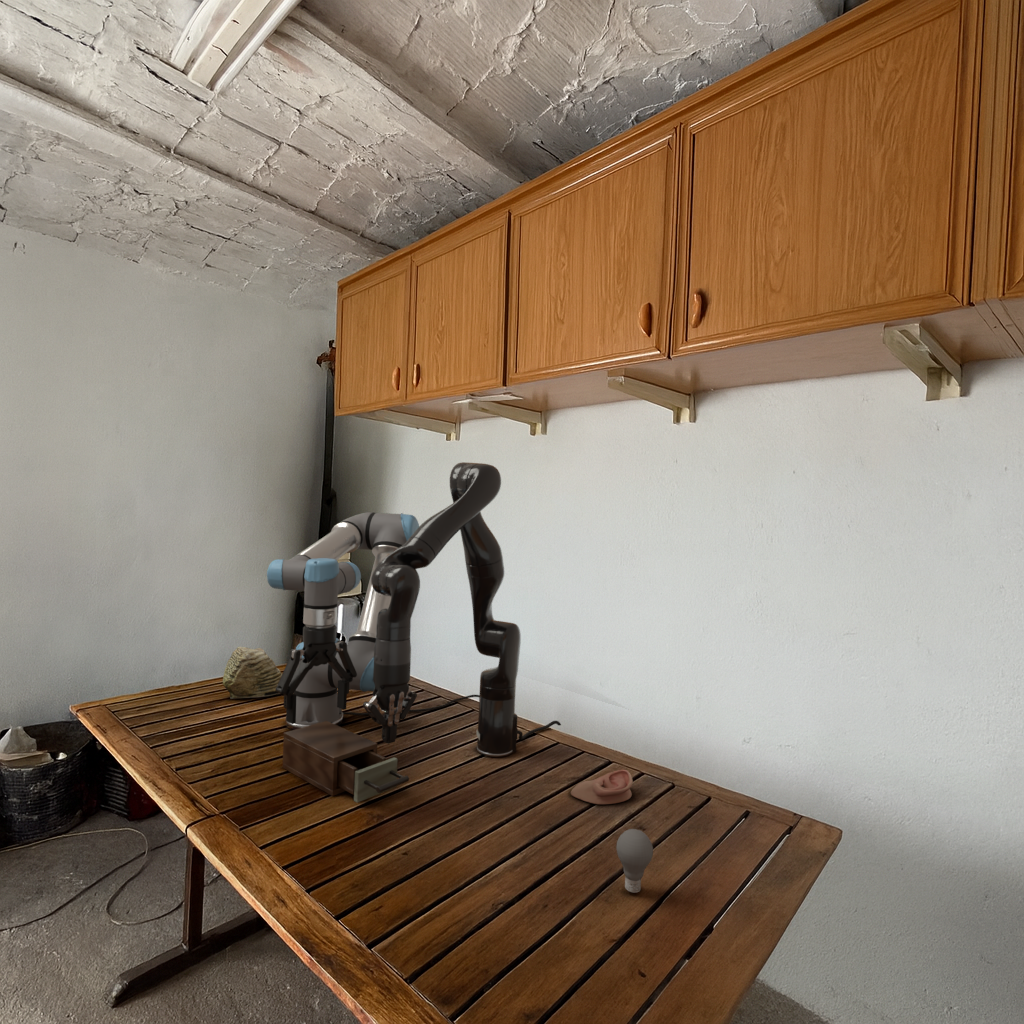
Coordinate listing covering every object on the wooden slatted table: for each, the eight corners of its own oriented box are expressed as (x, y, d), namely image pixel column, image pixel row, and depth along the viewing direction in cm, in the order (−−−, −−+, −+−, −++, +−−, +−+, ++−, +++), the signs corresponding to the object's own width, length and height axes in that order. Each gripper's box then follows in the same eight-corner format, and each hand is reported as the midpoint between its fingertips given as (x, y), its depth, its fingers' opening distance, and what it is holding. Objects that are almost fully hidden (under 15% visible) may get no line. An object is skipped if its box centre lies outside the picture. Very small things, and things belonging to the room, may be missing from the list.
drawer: (413, 795, 134) (414, 766, 134) (373, 812, 126) (375, 781, 126) (345, 761, 149) (346, 735, 149) (306, 774, 142) (307, 747, 141)
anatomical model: (569, 782, 136) (575, 761, 148) (568, 800, 136) (574, 778, 148) (632, 790, 134) (633, 768, 145) (631, 809, 134) (632, 785, 145)
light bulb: (610, 879, 108) (613, 822, 108) (644, 879, 109) (647, 822, 109) (619, 902, 102) (622, 840, 102) (655, 901, 103) (658, 840, 103)
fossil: (218, 695, 195) (220, 647, 195) (278, 685, 208) (279, 640, 207) (228, 703, 189) (230, 653, 188) (289, 692, 201) (290, 645, 201)
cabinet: (376, 779, 143) (377, 743, 143) (332, 796, 134) (333, 757, 134) (325, 753, 156) (326, 720, 156) (282, 767, 147) (283, 732, 147)
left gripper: (279, 635, 136) (276, 733, 137) (373, 620, 155) (370, 706, 156) (261, 629, 141) (258, 724, 141) (354, 615, 160) (351, 699, 161)
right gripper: (378, 668, 124) (374, 756, 124) (428, 657, 134) (424, 738, 134) (354, 661, 129) (351, 745, 129) (404, 650, 139) (401, 729, 139)
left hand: (317, 715), depth 149 cm, fingers open, 13 cm apart
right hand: (389, 741), depth 132 cm, fingers closed
